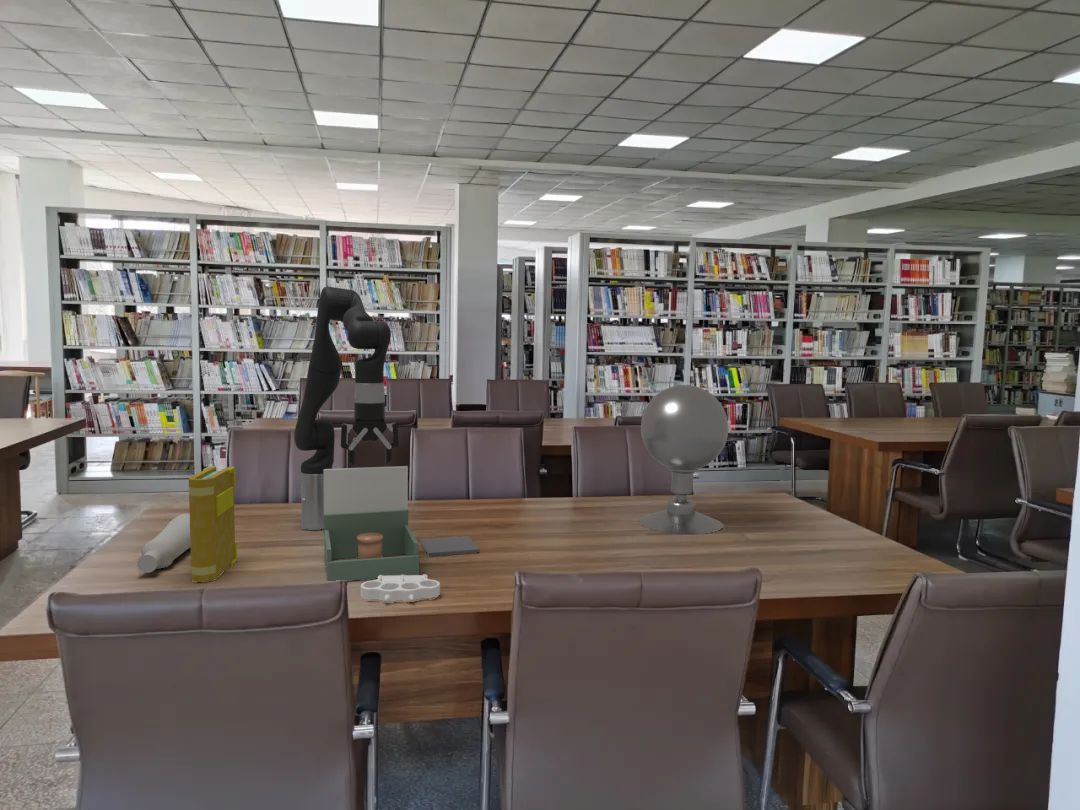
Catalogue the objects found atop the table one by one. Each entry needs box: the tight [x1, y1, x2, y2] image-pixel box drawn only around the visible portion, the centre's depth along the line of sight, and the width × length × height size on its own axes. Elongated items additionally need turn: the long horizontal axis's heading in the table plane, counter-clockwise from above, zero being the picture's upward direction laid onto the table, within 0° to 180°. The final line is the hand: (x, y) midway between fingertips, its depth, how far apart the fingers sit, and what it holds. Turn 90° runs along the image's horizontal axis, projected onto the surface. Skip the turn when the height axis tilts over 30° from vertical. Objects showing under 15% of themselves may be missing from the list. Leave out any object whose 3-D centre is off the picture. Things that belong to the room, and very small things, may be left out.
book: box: [188, 466, 238, 583], centre depth 186 cm, size 17×7×25 cm, turn 5°
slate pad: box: [420, 535, 480, 557], centre depth 211 cm, size 14×14×1 cm
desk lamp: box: [637, 384, 729, 535], centre depth 242 cm, size 28×28×45 cm
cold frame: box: [323, 465, 420, 582], centre depth 192 cm, size 22×21×24 cm
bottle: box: [136, 513, 191, 574], centre depth 196 cm, size 9×9×30 cm
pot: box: [357, 533, 383, 559], centre depth 193 cm, size 7×7×8 cm
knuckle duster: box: [359, 573, 441, 601], centre depth 174 cm, size 3×18×15 cm
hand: (369, 464), depth 190 cm, fingers open, 8 cm apart
